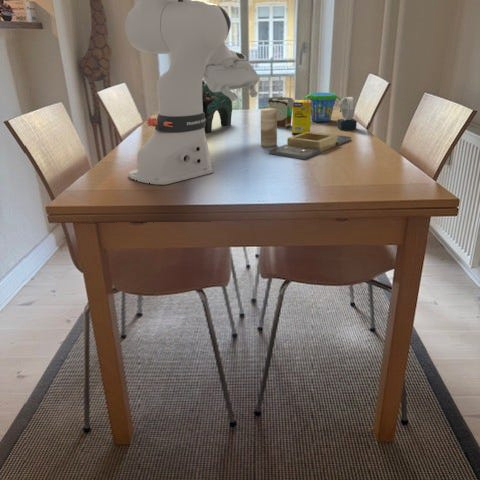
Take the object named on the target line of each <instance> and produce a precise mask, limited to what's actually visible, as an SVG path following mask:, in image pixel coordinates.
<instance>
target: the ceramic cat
mask: <svg viewBox="0 0 480 480" xmlns="http://www.w3.org/2000/svg"><path fill="white" fill-rule="evenodd" d="M202 102H203V112H204V113H205V119H206V121H205V124H206V126H205V127H204V130H205V134H209V133H212V131H213V130H212V129H213V120H214V115H215V113H216V112H217V113H218V115H219V119H220V120H219V121H220V126H222V127H229V126H231V125H232V114H233V101H231V100H230V98H229V97H227V96H226V95H225V94H223V93H222V91H221V92H212V91H211V90H210V89H209V87H208V86H207V84H206V82H205V80H204V79H203V82H202Z"/></svg>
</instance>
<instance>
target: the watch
mask: <svg viewBox="0 0 480 480" xmlns="http://www.w3.org/2000/svg"><path fill="white" fill-rule="evenodd" d="M338 106H339V107H340V109H341V116H342V118H338V119H337V129H338V130H340V131H356V130H357V124H358V123H357V122H358V120H356V119H355V118H354V115H355V98H354V97H353V96H345V97H343V98H341V101H340V100H339V102H338Z"/></svg>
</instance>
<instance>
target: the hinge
mask: <svg viewBox="0 0 480 480" xmlns="http://www.w3.org/2000/svg"><path fill="white" fill-rule="evenodd" d="M351 141H352V136H348V135H338V134H329V133H322V132H311V131H310V132H304V133H301V134H298V135H291V136H290V137H287V141H286V142H287V143H286V144H284V145H281V146H276V147H273V148H272V149H269V150H268V154H269V155H274V156H280V157H281V156H282V157H286V158H287V157H288V158H292V159H293V158H294V159H298V160H307V159H309V158H311V157H315V156H316V155H319V154H321V153H322V152H323V151H326V150H329V149H331V148H333V147H336V146H341V145H344V144H345V143H347V142H351Z"/></svg>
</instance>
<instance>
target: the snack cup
mask: <svg viewBox="0 0 480 480" xmlns="http://www.w3.org/2000/svg"><path fill="white" fill-rule="evenodd" d="M307 98H308V100H311V121H313V122H315V123H317V122H319V123H323V122H325V123H326V122H331V120H332V115H333V111H334V106H335V102H336V99H337V98H338V100H339V102H340V101H341V100H342V98H341V97H340V95H337V94H336V93H333V92H311V93H308V95H306V96H305V97H304V98H302V100H307ZM339 113H342V111H341V109H340V110H339Z"/></svg>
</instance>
